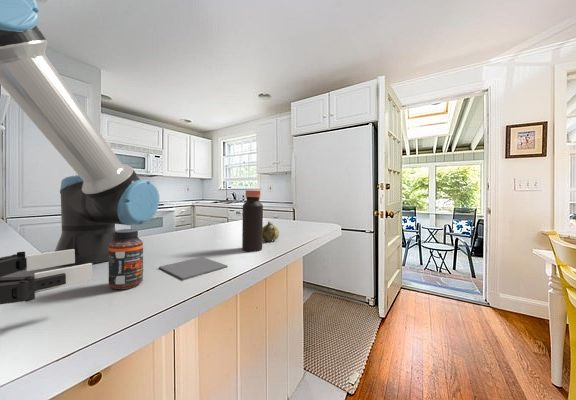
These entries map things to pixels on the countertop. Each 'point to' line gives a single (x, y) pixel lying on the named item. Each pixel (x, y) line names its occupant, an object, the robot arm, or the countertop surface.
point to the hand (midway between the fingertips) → (82, 262)
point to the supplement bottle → (125, 259)
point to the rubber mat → (192, 267)
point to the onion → (270, 232)
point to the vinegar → (252, 222)
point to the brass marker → (126, 288)
